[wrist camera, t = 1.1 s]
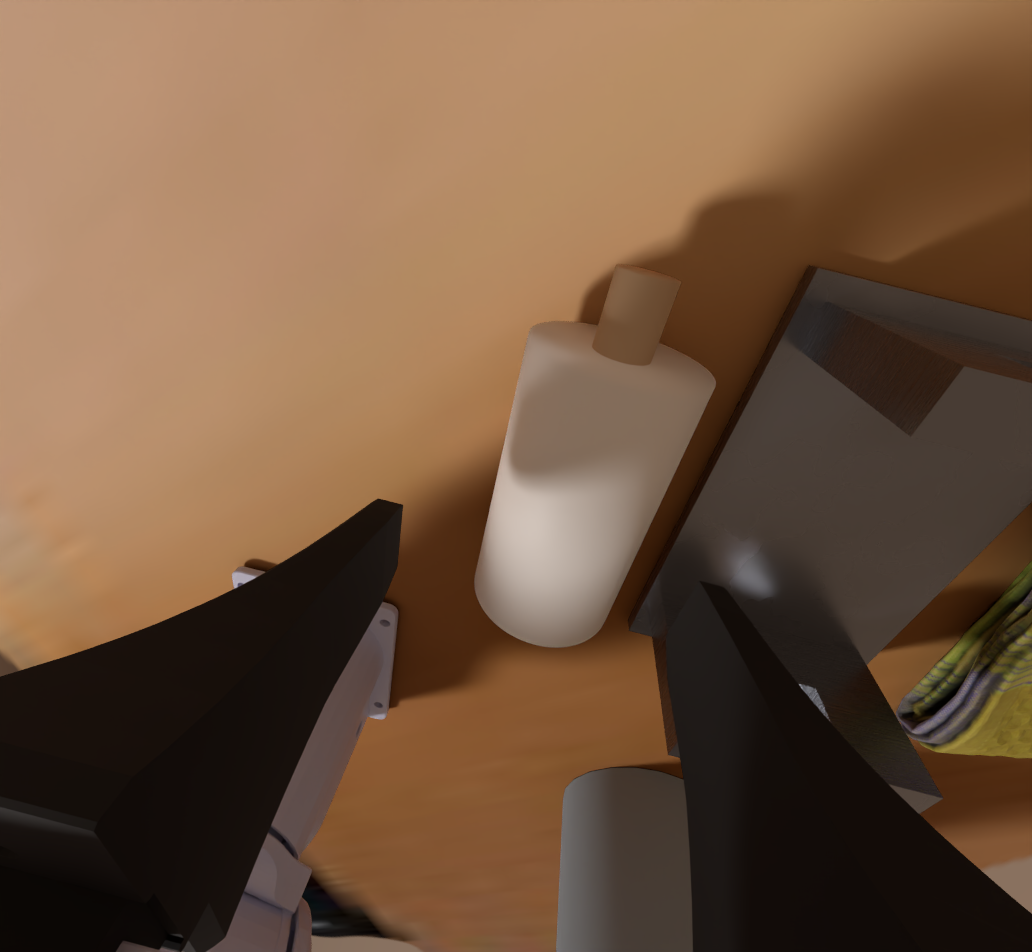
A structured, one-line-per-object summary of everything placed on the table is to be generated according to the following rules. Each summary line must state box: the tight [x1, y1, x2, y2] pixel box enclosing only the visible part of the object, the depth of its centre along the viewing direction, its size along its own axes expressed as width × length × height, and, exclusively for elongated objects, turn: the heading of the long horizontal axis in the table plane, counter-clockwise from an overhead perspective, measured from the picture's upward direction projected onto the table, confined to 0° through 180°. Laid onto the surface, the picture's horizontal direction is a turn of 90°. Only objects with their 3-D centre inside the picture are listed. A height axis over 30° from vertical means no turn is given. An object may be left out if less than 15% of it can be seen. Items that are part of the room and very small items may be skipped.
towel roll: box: [474, 264, 716, 648], centre depth 15 cm, size 13×5×5 cm, turn 168°
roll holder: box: [628, 265, 1032, 814], centre depth 14 cm, size 15×10×6 cm, turn 168°
